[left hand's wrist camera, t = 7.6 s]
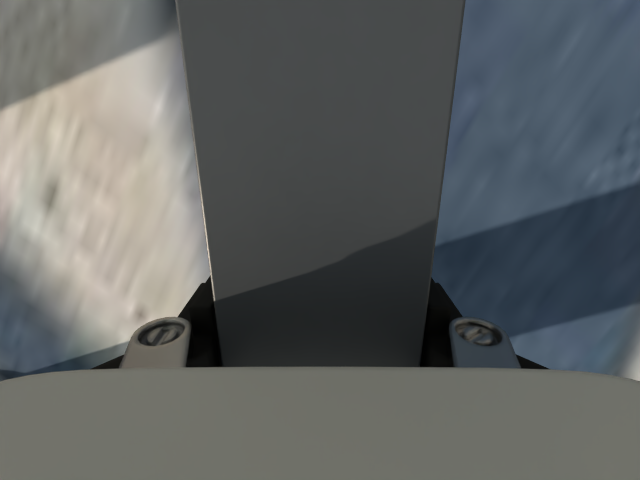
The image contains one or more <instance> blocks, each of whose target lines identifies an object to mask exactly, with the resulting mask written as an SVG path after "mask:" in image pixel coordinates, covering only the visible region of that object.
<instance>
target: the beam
mask: <svg viewBox="0 0 640 480" xmlns="http://www.w3.org/2000/svg"><path fill="white" fill-rule="evenodd" d="M175 2H176V10H177V18H178V26H179V33H180V41H181V49H182V57H183V65H184V72H185V80H186V88H187V96H188V104H189V111H190V119H191V127H192V135H193V142H194V150H195V158H196V166H197V174H198V181H199V189H200V197H201V205H202V213H203V220H204V228H205V236H206V244H207V252H208V259H209V267H210V275H211V283H212V291H213V298H214V306H215V314H216V322H217V329H218V337H219V345H220V353H221V361H222V367H420V362H421V354H422V346H423V338H424V330H425V321H426V313H427V305H428V297H429V289H430V281H431V273H432V265H433V257H434V249H435V241H436V233H437V225H438V217H439V209H440V201H441V193H442V185H443V177H444V169H445V161H446V153H447V144H448V136H449V128H450V120H451V112H452V104H453V96H454V88H455V80H456V72H457V64H458V56H459V48H460V40H461V32H462V24H463V16H464V8H465V0H175Z"/></svg>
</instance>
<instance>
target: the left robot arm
mask: <svg viewBox="0 0 640 480" xmlns="http://www.w3.org/2000/svg"><path fill="white" fill-rule="evenodd" d="M0 480H640V381H636V380H632V379H628V378H622V377H617V376H612V375H606V374H598V373H590V372H581V371H566V370H551V369H548V368H546V367H544V366H541V365H539V364H537V363H534V362H532V361H530V360H528V359H525V358H523V357H521V356H518V355H516V354H515V352H514V349H513V347H512V344H511V342H510V339H509V337H508V335H507V334H506V332H505V331H504V330H503V329H501V328H500V327H499V326H497V325H495V324H494V323H492V322H489V321H486V320H484V319H480V318H475V317H462V315H461V314H460V312H459V311H458V309H457V308H456V307H455V305H454V304H453V302H452V301H451V299H450V298H449V296H448V295H447V294H446V292H445V291H444V289H443V288H442V286H441V285H440V284H439V283H435V282H434V280H433V279H432V278H431V281H430V289H429V297H428V305H427V313H426V321H425V330H424V338H423V346H422V354H421V362H420V367H222V361H221V353H220V345H219V337H218V329H217V322H216V314H215V306H214V298H213V291H212V283H211V275H210V277H209V278H208V280H207V281H206V283H202V284H201V285H200V286H199V287H198V289H197V290H196V292H195V293H194V294H193V296H192V297H191V299H190V300H189V302H188V303H187V304H186V306H185V307H184V309H183V310H182V312H181V313H180V314H179V316H178V317H165V318H160V319H156V320H154V321H151V322H148V323H146V324H145V325H143V326H141V327H140V328H139V329H137V330H136V331H135V332H134V334H133V335H132V337H131V339H130V342H129V344H128V347H127V349H126V352H125V354H124V355H122V356H120V357H117V358H115V359H113V360H111V361H108V362H106V363H104V364H101V365H99V366H97V367H94V368H92V369H90V370H74V371H60V372H49V373H42V374H35V375H28V376H23V377H18V378H13V379H8V380H3V381H0Z"/></svg>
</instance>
